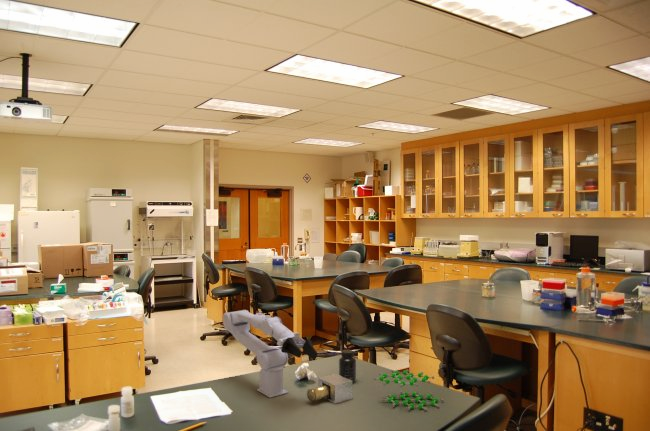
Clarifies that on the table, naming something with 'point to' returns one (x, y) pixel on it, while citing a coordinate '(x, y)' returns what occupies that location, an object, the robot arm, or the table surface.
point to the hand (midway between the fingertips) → (308, 355)
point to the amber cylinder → (319, 393)
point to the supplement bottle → (347, 365)
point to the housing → (337, 387)
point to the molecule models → (406, 392)
